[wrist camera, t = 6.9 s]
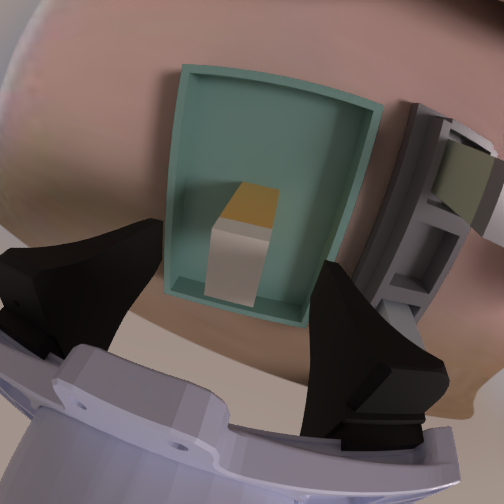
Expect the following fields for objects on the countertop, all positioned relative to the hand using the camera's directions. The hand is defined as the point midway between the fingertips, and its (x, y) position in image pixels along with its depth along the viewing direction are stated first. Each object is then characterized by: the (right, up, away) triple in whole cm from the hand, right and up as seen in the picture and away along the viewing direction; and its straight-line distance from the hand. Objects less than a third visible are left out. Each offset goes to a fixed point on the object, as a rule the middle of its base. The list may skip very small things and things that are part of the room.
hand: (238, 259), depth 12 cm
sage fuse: (+13, +6, +2) cm, 14 cm away
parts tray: (+1, +4, +6) cm, 8 cm away
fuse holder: (+12, +1, +6) cm, 14 cm away
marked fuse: (+1, +3, +6) cm, 7 cm away
